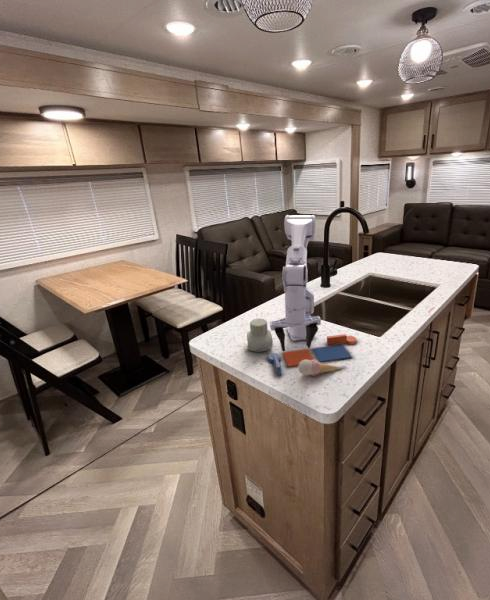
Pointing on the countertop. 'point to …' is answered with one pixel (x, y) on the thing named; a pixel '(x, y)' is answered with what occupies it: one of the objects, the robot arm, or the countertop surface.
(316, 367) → the ice cream cone
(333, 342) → the terracotta spoon
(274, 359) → the blue spoon
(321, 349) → the blue mat
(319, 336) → the countertop surface
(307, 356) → the terracotta mat
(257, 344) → the air freshener
